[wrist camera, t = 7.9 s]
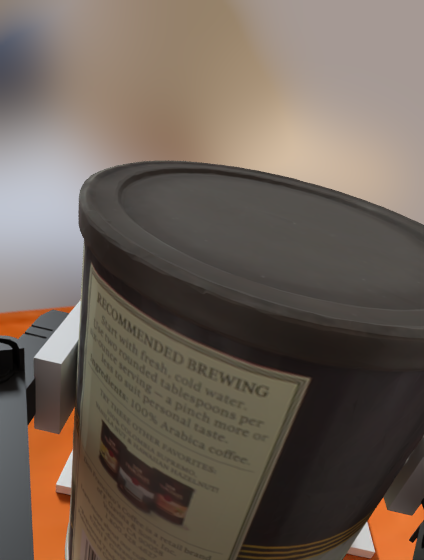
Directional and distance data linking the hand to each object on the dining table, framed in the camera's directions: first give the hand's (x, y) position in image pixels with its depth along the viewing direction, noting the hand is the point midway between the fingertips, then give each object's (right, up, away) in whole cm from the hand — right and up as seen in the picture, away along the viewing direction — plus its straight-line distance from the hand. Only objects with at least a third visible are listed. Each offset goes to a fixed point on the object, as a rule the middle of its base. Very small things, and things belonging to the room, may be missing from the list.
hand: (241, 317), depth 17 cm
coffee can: (-2, -9, 0) cm, 9 cm away
